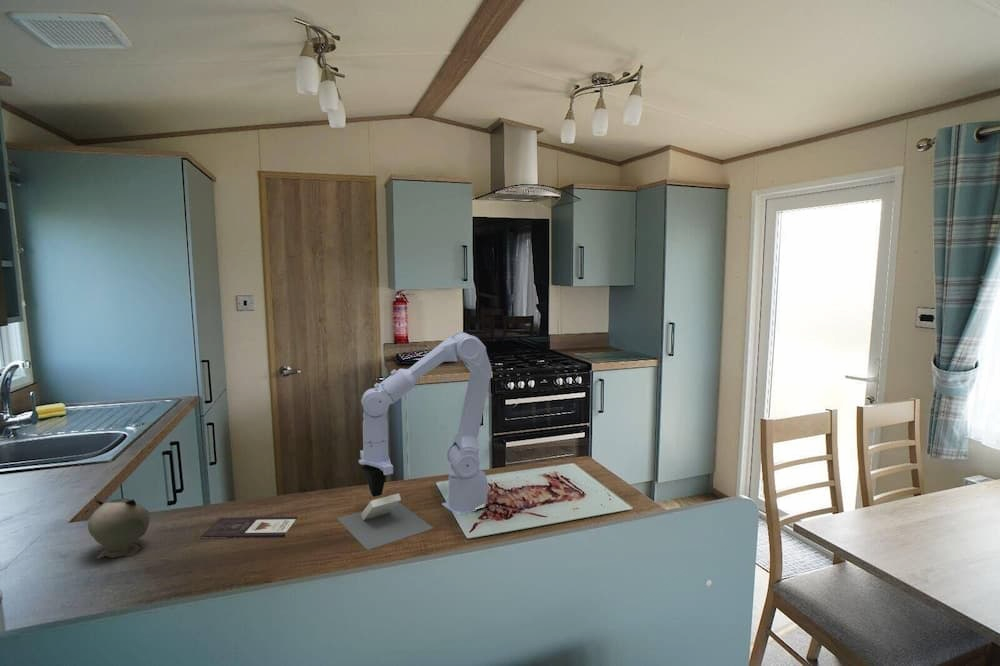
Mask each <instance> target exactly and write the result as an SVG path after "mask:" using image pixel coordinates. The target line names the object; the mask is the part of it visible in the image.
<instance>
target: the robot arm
mask: <svg viewBox="0 0 1000 666" xmlns="http://www.w3.org/2000/svg"><path fill="white" fill-rule="evenodd" d="M458 359H459V360H461V361H462V362H463V364H464V366H465V368H467V369H468V371H469V372H470V373H469V378H468V382H467V387H466V390H465V391H466V392H465V397H464V400H463V402H464V403H463V406H462V407H463V408H462V411H461V415H460V420H459V425H458V430H457V433H456V435H454V437H453V441H452V443H451V444H450V446H449V447H448V450H447V453H446V458H447V461H448V462H449V463H450V464H451V465H450V467H449V470H448V501H446V502H442V503H441V505H442V506H443V507H445V508H446V509H448V510H449V511H451V512H452V513H454V514H455V515H457V516H462V515H464V514H468V513H471V512H472V511H473V510H475V508H476V507H478V506H480V505H482V504H484V503H487V504H488V479H487V476H486V475H487V474H486V472H485V471H484V470H483V469H481V468H480V459H479V451H480V447H479V439H478V438H479V433H480V429H481V423H482V420H483V419H482V418H483V415H484V409H485V405H486V400H487V396H488V391H489V385H490V380H491V377H492V373H493V372H492V369H493V368H492V365H491V362H490V359H489V356H488V352H487V347H486V346H485V344H484V343H483V342H482V341H481V339H479V338H478V337H477V336H474V335H470V334H469V333H468V332H463V331H460V332H456V333H455V334H453V335H452V336H451V337H449V338H446V339H445V340H444V341H442V342H441V343H439V344H438V345H437V346H436V347H434V348H433V349H432V350H430V351H429V352H428V353H427V354H426V355H424V356H423V357H422V358H421V359H419V360H418V361H417V362H415V363H414V364H413V365H412V366H410V367H409V368H399V369H398V370H396V369H392V370H391V371H390V375H389V376H388V377H386V378H384V380H382V381H381V382H380V383H378V382H376V383H375V384H374V385H373V386H374V388H369V389H367V390H366V391H364V393H363V394H362V396H361V399H360V403H361V405H362V408H363V414H362V418H363V420H362V446H363V448H362V450H359V454H360V455H359V458H360V459H358V464H360V466H361V465H363V466H361V470H362V472H363V474H364V475H365V477H366V480H367V484H368V487H369V491H370V495H371V496H372V498H374V497H380V496H382V494H383V491H384V486H385V482H386V480H387V477H388V476H389V475H392V474H394V465H393V464H392V463H391V458H390V456H389V436H388V435H389V434H388V433H389V432H388V431H389V430H388V428H389V427H388V424H389V423H388V419H387V417H388V416H387V412H388V410H389V408H390V405H392V404H395V403H396V402H397V401H398V400H400V399H401V398H403V397H404V396H405V395H407V394H408V393H409V392H411V391H412V390H413V389H414V388H415V387H416V382H417V381H418V379H419V378H421V377H423V376H425V375H426V374H428V372H430V371H432V370H433V369H435V368H436V367H438V366H440V365H441V364H442V363H444V362H446V363H447V362H458V361H459V360H458Z"/></svg>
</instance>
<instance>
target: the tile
mask: <svg viewBox="0 0 1000 666" xmlns="http://www.w3.org/2000/svg"><path fill="white" fill-rule="evenodd" d="M401 500H402V498H401V496H400V493H399V492H398V493H395V494H391V495H387V496H384V497H380V498H377V499H372V500H370V501H369V503H368V504H367V505H366V507H365V508H364V510H362V511H363V512H362V513H361V516H362V519H363V520H367V519H370V518H374V517H377V516H380V515H384V514H387V513H390V512H391V511H392V510H393V509H394V508H395V506H396V505H397V504H398V503H399V502H400V503H401Z"/></svg>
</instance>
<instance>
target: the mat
mask: <svg viewBox="0 0 1000 666" xmlns="http://www.w3.org/2000/svg"><path fill="white" fill-rule="evenodd" d="M363 511H364V510H362V511H361V510H360V511H359V512H355V513H351V514H347V515H343V516H340V517H337V518H336V520H338V521H339V523H341V525H342V526H343V527H344V528H345V529H346V530H347V531H348V532H349V533H350V534H351V535H352V536H353V537H354V538H355V539H356V540H357V541H358V542H359V544H361V545H362V547H364V549H366V551H369V550H372V549H375V548H379V547H381V546H385V545H386V544H391V543H393V542H397V541H400V540H402V539H406V538H409V537H411V536H415V535H418V534H421V533H423V532H427V531H430V530H432V529H434V527H433V526H431V525H430V524H429V523H427V521H425V520H424V519H422V518H421V517H419V516H418V515H417V514H415V512H414V511H412V510H410V508H408V507H407V506H405V505H404V504H402V503H401V501H400V502H399V503H398V504H397V505H396V506H395V508H394V509H393V510H392V511H391V512H390V513H387V514H384V515H380V516H377V517H374V518H370V519H367V520H363V519H362V516H361V513H362V512H363Z"/></svg>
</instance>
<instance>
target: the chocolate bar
mask: <svg viewBox="0 0 1000 666" xmlns="http://www.w3.org/2000/svg"><path fill="white" fill-rule="evenodd" d="M297 519H298V516H257V517H256V516H254V517H253V516H250V517H249V516H248V517H245V516H244V517H243V516H241V517H220V518H219V519H218V520H216V522H215V523H214V524H213V525H212V526H210V528H208V529H207V530H206V531H205V532H204V533H203V534H202V535H201V536H200V538H201V537H227V538H226V539H241V538H240V537H244V538H243V539H263V538H264V539H268V538H269V539H270V538H271V539H272V538H275V539H276V538H277V539H279V538H285V536H286V533H287V532H288V530H289V529H290V528H291V526H292V525H293V524H294V522H296V520H297ZM234 537H236V538H234ZM251 537H252V538H251ZM260 537H261V538H260Z"/></svg>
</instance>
